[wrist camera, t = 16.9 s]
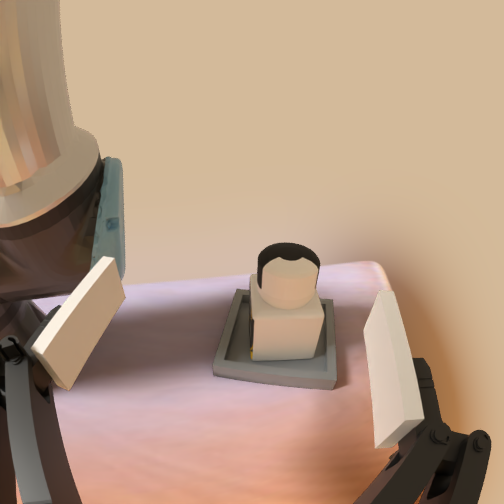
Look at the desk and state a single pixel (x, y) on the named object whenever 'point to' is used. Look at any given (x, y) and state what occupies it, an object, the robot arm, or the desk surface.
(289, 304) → the medicine bottle
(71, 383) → the robot arm
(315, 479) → the desk surface
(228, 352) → the bottle tray
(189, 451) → the desk surface
